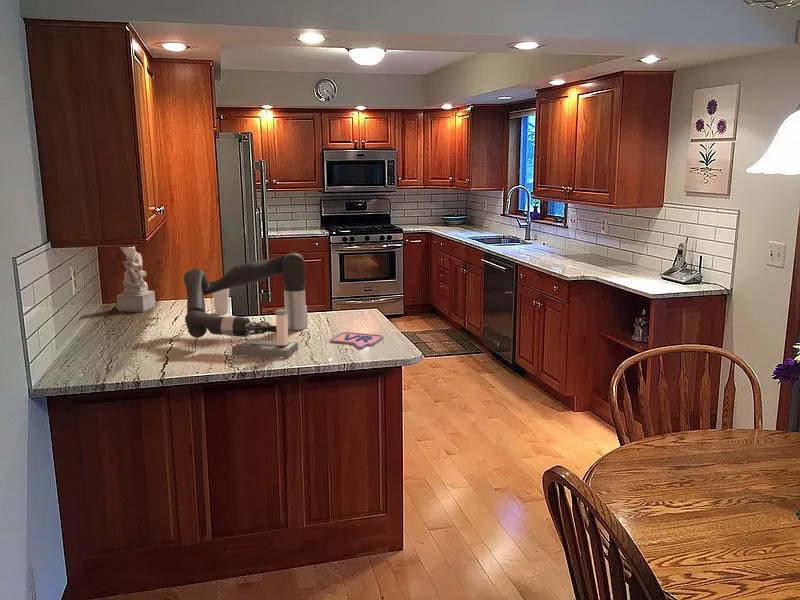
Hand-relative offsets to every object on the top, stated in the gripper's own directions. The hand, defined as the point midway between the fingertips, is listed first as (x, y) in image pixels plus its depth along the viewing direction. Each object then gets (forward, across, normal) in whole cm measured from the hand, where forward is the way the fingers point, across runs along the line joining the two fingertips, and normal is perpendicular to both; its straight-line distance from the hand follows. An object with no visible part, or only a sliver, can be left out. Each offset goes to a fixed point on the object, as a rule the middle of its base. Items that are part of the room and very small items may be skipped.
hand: (278, 329), depth 254 cm
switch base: (-6, 0, -10) cm, 11 cm away
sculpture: (-98, -61, -11) cm, 116 cm away
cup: (-53, -61, -10) cm, 81 cm away
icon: (+24, -23, -10) cm, 35 cm away
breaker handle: (+2, 0, -6) cm, 6 cm away
